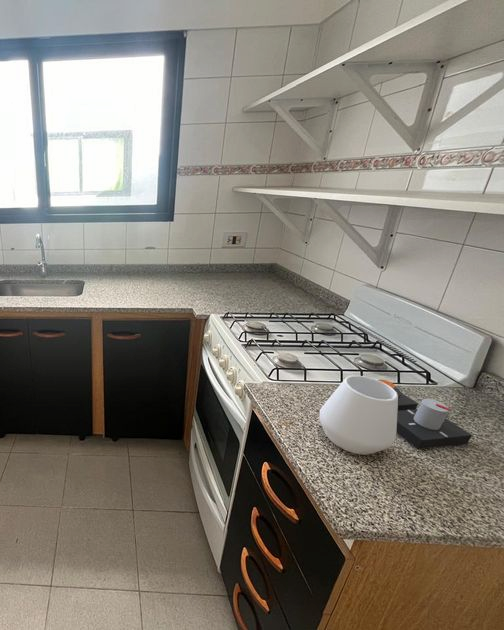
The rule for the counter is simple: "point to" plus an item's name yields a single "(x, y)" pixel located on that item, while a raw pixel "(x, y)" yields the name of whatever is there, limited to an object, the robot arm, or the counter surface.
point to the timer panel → (429, 432)
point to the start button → (388, 383)
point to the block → (405, 401)
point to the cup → (361, 415)
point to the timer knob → (431, 414)
